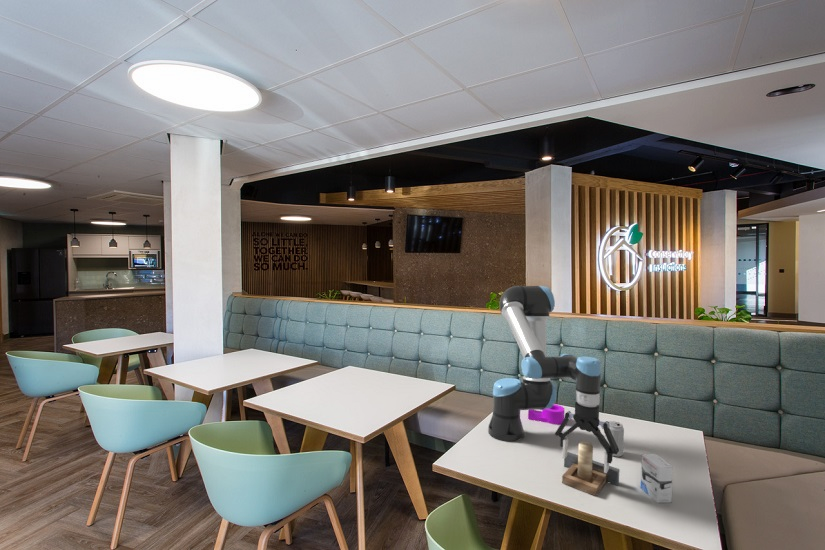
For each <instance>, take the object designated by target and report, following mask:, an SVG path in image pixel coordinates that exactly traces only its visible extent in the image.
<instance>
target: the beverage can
mask: <svg viewBox="0 0 825 550" xmlns="http://www.w3.org/2000/svg"><path fill="white" fill-rule="evenodd" d="M608 422H609V427H610V430H611V433H612V435H613V437H614V439H615V442H616V444H617V446H618V448H619V452H618V453H617V454H613V456H612V457H616V458H617V457H621V456H623V455H624V439H625V435H624V434H625V428H624V425H623V424H622V423H621V422H618V421H614V420H613V421H612V420H609V421H608ZM604 437H605V439H606V440H607V442H608V439H607V437H606V435H605V436H604ZM608 443H609V442H608ZM609 445H610V444H609ZM604 450H605V449H604ZM605 452H606V450H605Z"/></svg>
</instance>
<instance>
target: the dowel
mask: <svg viewBox="0 0 825 550" xmlns="http://www.w3.org/2000/svg"><path fill="white" fill-rule="evenodd" d="M577 453H578V454H577V455H578V475H577V478H579V479H581V480H584V481H587V482H589V483H590V482H591V481H592V460H593V458H594V457H593V456H594V445H593V444H592V443H590V442H588V441H579V443H578V452H577Z"/></svg>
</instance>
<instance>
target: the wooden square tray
mask: <svg viewBox="0 0 825 550" xmlns="http://www.w3.org/2000/svg"><path fill="white" fill-rule="evenodd" d="M577 475H578V465H577V464H575V463H573V464H572V466H571V467H570V468H567V470H566V471H565V472H564V473H563V474H562V476H561V477H562V479H561V484H564V485H567V486H568V487H572V488H575V489H577V490H580V491H582V492H584V493H588V494H590V495H593V496H595V497H597V496H598V494H599V493H600V491H602V488H603V487H604V485H606V483H607V482H606V474H603V473H600V472H597V471H595V470H592V481H591V482H590V483H589V482H587V481H584V480H581V479H579V478H577Z"/></svg>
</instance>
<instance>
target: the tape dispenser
mask: <svg viewBox="0 0 825 550" xmlns="http://www.w3.org/2000/svg"><path fill="white" fill-rule="evenodd" d="M527 412H528V414H527V420H528V419H529V421H534V420H535V422H540V421H541V422H542V423H547V424H551V425H561V423H562V422H563V420H564V418H565V407H563V406H562V405H559V404H557V403H554V405H553V406H552V407H551V408H549V409H543V410H527ZM541 422H540V423H541Z"/></svg>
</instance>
